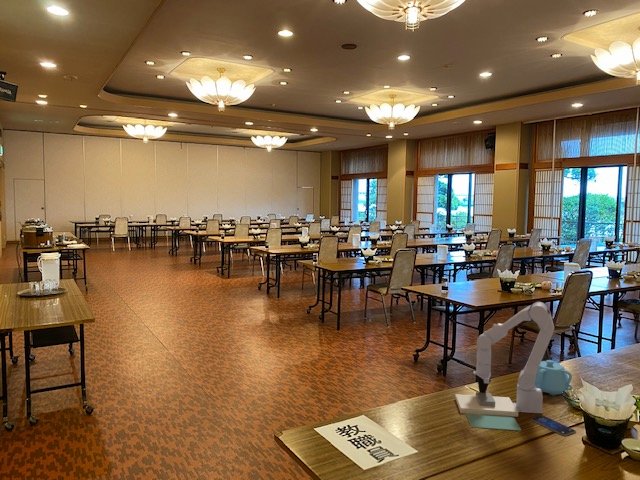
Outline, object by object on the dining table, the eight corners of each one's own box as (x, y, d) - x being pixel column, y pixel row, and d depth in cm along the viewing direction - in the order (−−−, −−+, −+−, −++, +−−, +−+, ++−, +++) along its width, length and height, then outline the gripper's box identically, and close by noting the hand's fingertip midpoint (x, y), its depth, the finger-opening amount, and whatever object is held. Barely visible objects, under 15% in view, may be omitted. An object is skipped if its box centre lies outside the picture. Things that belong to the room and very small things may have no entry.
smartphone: (564, 435, 174) (529, 418, 187) (564, 438, 174) (529, 420, 188) (577, 430, 178) (542, 414, 191) (577, 433, 178) (542, 416, 191)
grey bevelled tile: (490, 397, 203) (490, 393, 203) (495, 406, 194) (495, 401, 194) (475, 396, 204) (475, 392, 204) (479, 405, 195) (479, 400, 195)
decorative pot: (533, 395, 211) (534, 365, 209) (525, 382, 226) (526, 353, 225) (573, 399, 207) (575, 368, 206) (562, 385, 223) (564, 356, 222)
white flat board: (508, 401, 204) (509, 397, 204) (518, 416, 190) (518, 411, 190) (455, 398, 207) (455, 394, 206) (460, 413, 193) (460, 408, 193)
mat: (513, 417, 189) (513, 416, 189) (521, 430, 178) (521, 430, 178) (466, 414, 191) (466, 413, 191) (471, 427, 181) (471, 426, 181)
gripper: (470, 356, 211) (469, 386, 212) (477, 367, 197) (475, 400, 198) (487, 357, 210) (486, 387, 211) (495, 368, 196) (493, 401, 197)
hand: (482, 393), depth 205 cm, fingers closed
